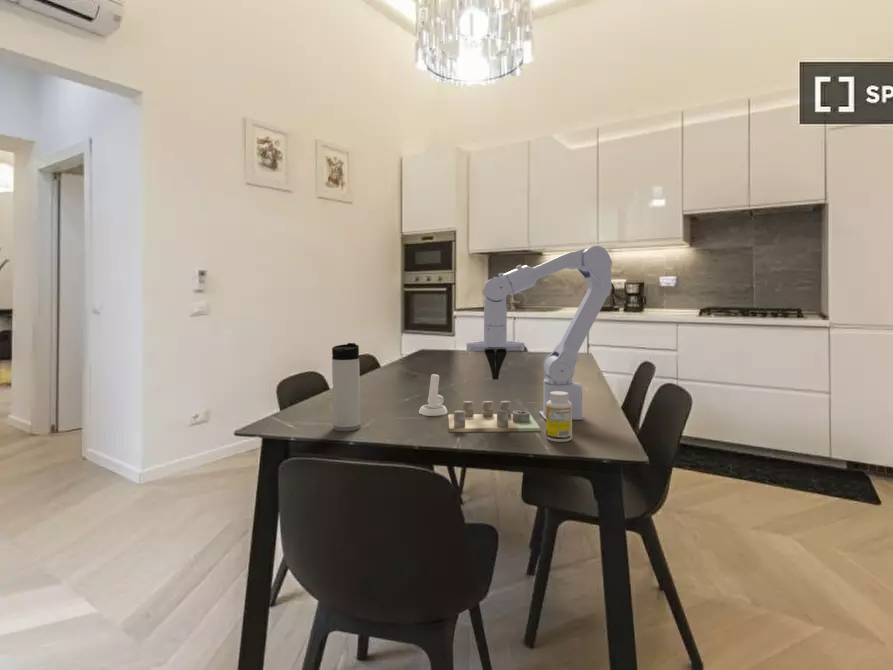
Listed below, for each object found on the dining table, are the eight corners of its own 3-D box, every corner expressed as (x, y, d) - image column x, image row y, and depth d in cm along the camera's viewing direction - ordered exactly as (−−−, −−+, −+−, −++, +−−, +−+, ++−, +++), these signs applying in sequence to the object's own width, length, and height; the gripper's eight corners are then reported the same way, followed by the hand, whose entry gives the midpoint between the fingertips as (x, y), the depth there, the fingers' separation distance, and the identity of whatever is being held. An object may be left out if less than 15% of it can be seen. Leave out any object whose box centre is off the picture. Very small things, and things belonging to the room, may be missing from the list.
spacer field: (510, 417, 135) (510, 400, 135) (518, 431, 121) (518, 412, 121) (448, 417, 135) (448, 400, 135) (448, 431, 121) (448, 413, 121)
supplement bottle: (553, 434, 119) (554, 389, 118) (576, 438, 115) (577, 392, 114) (541, 439, 115) (541, 393, 114) (564, 444, 111) (564, 396, 110)
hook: (445, 387, 150) (452, 376, 144) (442, 426, 143) (450, 417, 138) (419, 382, 148) (425, 371, 142) (416, 422, 142) (422, 412, 136)
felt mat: (530, 416, 135) (530, 414, 135) (540, 431, 121) (540, 428, 121) (510, 417, 135) (510, 414, 135) (518, 431, 121) (518, 428, 121)
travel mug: (365, 425, 127) (364, 343, 126) (352, 432, 121) (350, 346, 119) (343, 423, 129) (341, 342, 128) (328, 430, 123) (326, 345, 122)
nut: (525, 417, 131) (525, 409, 131) (533, 421, 127) (533, 413, 127) (508, 419, 130) (509, 411, 129) (516, 423, 126) (516, 414, 126)
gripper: (521, 324, 138) (521, 376, 139) (465, 324, 137) (466, 376, 139) (525, 326, 130) (525, 380, 132) (467, 326, 130) (467, 381, 132)
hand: (495, 378), depth 135 cm, fingers closed
